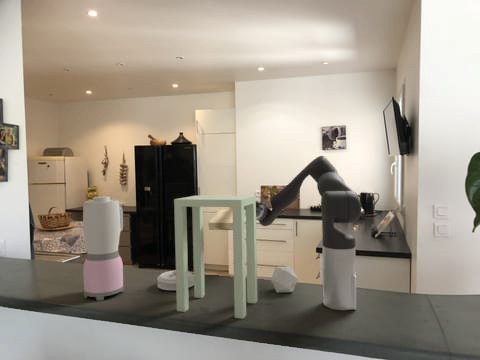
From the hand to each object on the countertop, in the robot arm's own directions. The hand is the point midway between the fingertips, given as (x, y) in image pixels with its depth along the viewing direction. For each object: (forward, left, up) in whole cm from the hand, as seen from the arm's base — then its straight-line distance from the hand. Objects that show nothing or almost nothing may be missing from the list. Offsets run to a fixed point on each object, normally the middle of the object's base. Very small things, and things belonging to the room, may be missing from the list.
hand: (237, 203), depth 128 cm
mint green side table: (-1, +21, -28) cm, 35 cm away
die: (-17, +3, -29) cm, 33 cm away
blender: (+39, +20, -29) cm, 53 cm away
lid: (+20, +8, -29) cm, 36 cm away
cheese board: (0, +4, -4) cm, 6 cm away
